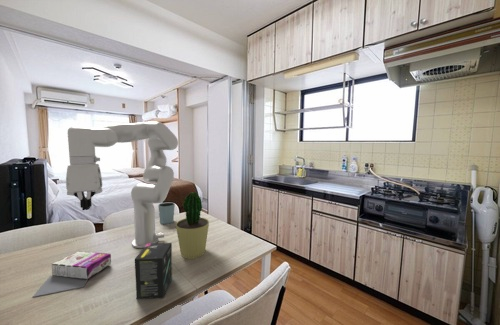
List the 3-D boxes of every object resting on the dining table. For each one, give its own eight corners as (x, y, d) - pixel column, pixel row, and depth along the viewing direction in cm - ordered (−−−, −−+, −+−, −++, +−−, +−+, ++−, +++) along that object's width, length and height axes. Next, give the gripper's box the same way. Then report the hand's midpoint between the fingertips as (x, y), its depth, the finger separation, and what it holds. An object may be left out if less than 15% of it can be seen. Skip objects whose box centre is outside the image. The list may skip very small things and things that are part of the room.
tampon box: (148, 279, 81) (147, 242, 79) (172, 278, 81) (172, 242, 80) (135, 300, 70) (133, 258, 68) (163, 298, 70) (162, 257, 69)
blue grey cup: (155, 223, 136) (155, 205, 135) (164, 218, 146) (163, 201, 145) (169, 225, 134) (169, 206, 133) (177, 219, 144) (177, 202, 143)
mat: (93, 268, 86) (93, 268, 86) (83, 287, 75) (83, 286, 75) (50, 276, 81) (50, 275, 81) (32, 297, 70) (32, 296, 70)
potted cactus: (195, 241, 112) (194, 186, 109) (215, 250, 103) (215, 190, 100) (169, 253, 99) (168, 191, 97) (190, 264, 90) (189, 197, 88)
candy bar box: (111, 264, 89) (79, 261, 92) (111, 253, 89) (79, 250, 92) (86, 280, 78) (51, 275, 81) (86, 267, 78) (50, 263, 81)
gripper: (109, 159, 84) (111, 204, 85) (62, 160, 78) (65, 208, 80) (104, 161, 77) (107, 209, 78) (52, 162, 71) (56, 214, 73)
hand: (86, 208), depth 79 cm, fingers closed
